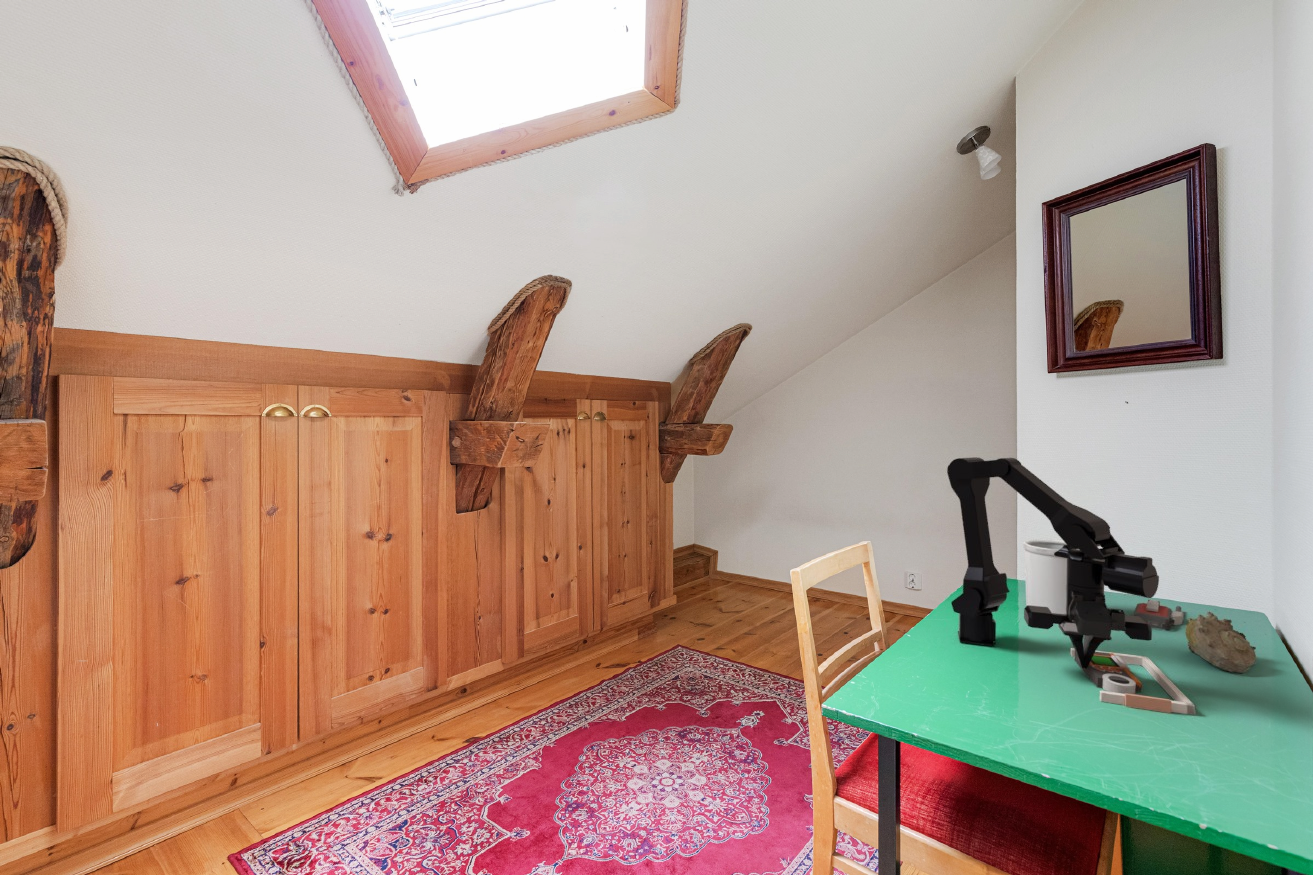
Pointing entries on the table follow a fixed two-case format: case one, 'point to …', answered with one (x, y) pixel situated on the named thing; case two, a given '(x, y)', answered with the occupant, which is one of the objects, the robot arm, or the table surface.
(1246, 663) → the seashell
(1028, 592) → the utensil holder
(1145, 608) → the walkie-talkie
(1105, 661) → the electronic device
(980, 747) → the table surface
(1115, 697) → the docking bay
